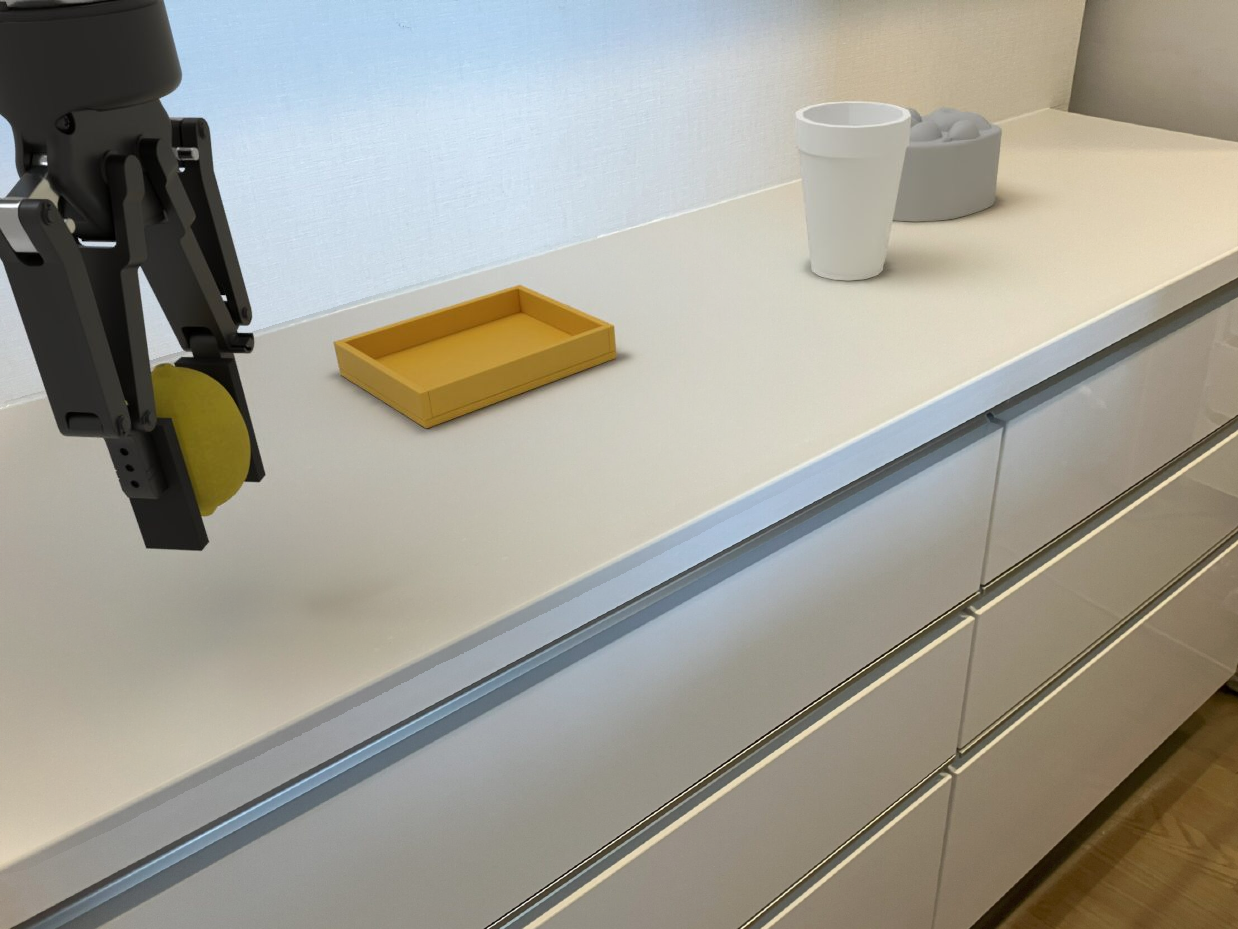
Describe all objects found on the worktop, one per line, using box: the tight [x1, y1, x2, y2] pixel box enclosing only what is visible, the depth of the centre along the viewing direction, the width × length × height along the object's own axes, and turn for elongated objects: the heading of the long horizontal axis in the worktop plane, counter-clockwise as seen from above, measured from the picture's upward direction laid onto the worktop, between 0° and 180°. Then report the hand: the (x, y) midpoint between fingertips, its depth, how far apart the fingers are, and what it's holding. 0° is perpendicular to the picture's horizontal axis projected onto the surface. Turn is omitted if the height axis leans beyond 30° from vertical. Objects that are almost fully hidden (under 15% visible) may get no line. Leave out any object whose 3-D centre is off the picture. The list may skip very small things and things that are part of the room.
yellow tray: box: [333, 284, 617, 429], centre depth 84 cm, size 16×12×3 cm
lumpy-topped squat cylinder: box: [893, 106, 1003, 222], centre depth 113 cm, size 10×13×9 cm
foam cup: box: [794, 100, 911, 282], centre depth 97 cm, size 10×9×13 cm
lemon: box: [125, 362, 251, 517], centre depth 54 cm, size 6×6×8 cm
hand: (208, 509), depth 56 cm, fingers closed on lemon, 5 cm apart
